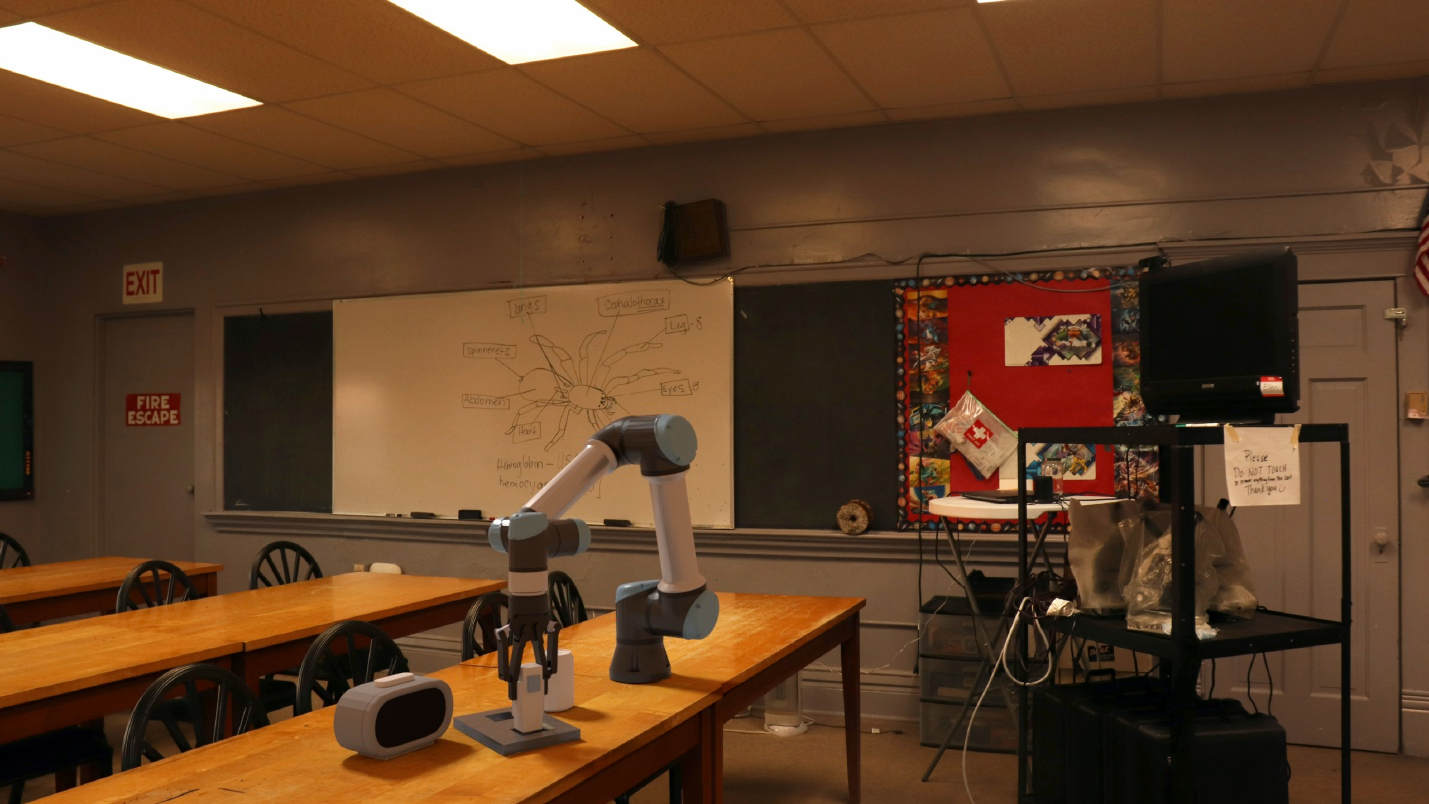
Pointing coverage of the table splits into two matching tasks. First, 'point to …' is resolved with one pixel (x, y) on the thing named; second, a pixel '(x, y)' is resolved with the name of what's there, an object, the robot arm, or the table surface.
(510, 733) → the panel
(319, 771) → the table surface
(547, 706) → the beverage can
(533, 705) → the plug
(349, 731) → the alarm clock
